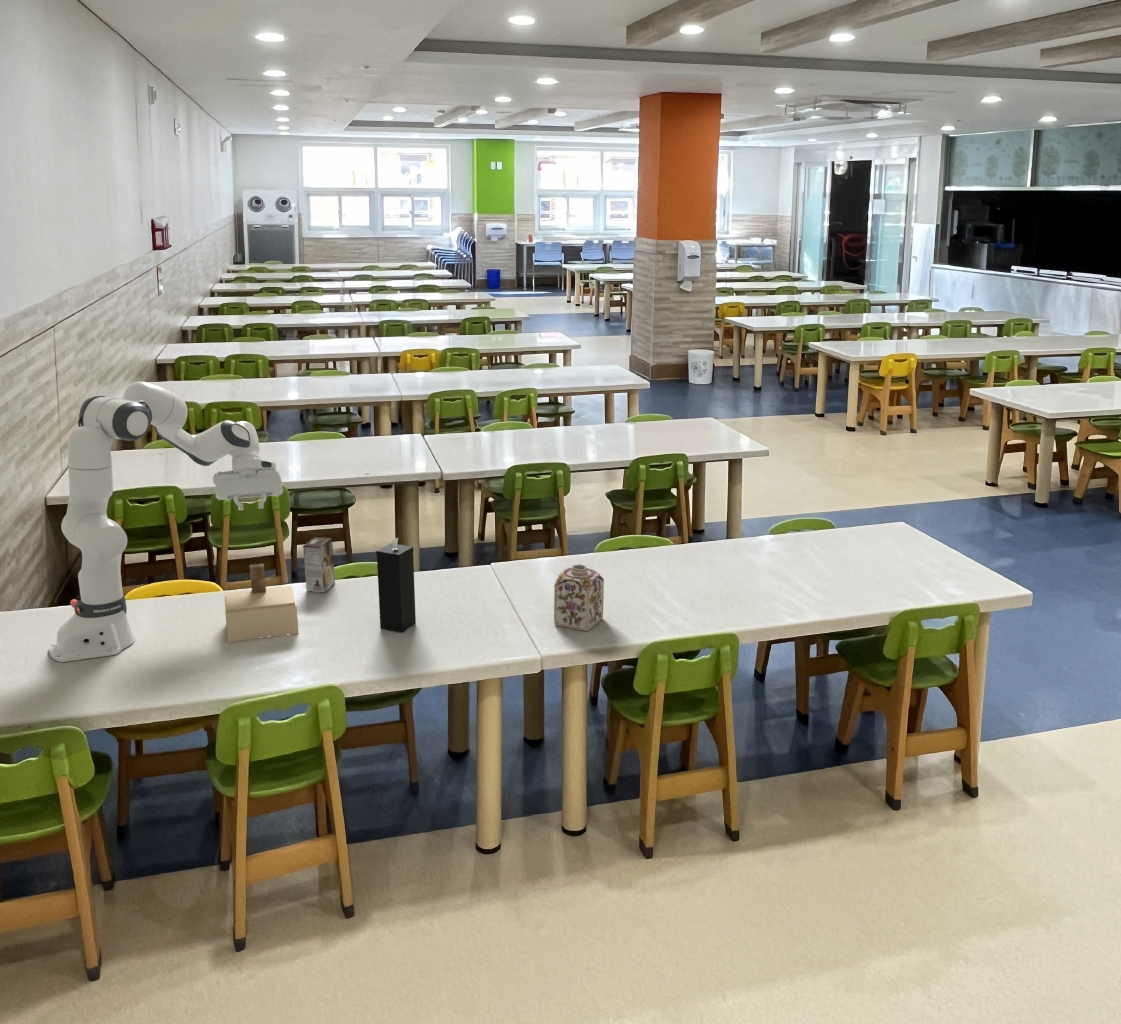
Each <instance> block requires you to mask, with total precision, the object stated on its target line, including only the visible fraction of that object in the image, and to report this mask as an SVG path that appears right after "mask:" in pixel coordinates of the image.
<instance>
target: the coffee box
mask: <svg viewBox="0 0 1121 1024" xmlns="http://www.w3.org/2000/svg"><path fill="white" fill-rule="evenodd" d="M302 546H303V559H304V562H303V563H304V572H305V573H304V574H305V584H306V585H305V587H306V592H307V591H312V592H311V593H319V592H324V593H326V592H325V591H326V590H327V589H328V588H329V587H330V588H331V587H332V586H334V585H335V583H336V581H335V579H336V577H335V566H334V565H335V564H334V563H335V562H334V550H333V549H334V547H333V538H332V537H317V536H315V537H313V538H311V539H310V540H308V541H307V542H305V544H304V545H302ZM331 585H332V586H331ZM330 588H329V589H330ZM329 589H328V590H329ZM328 590H327V591H328ZM313 591H314V592H313Z"/></svg>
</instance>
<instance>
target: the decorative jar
mask: <svg viewBox="0 0 1121 1024" xmlns="http://www.w3.org/2000/svg"><path fill="white" fill-rule="evenodd" d="M557 576H558V577H557V578H556V580H555V583H554V592H553V594H554V597H553V599H554V600H553V605H554V606H553V616H554V617H553V620H554V621H553V624H554V626H557V627H563V628H568V629H573V630H577V631H581V632H582V631H584V632H589V631H590V630H592V629H593V627H595V626H596V625H597V624H598V623H599V622H600V621H602V620H603V618H604V598H605V597H604V595H605V594H604V591H605V590H604V589H605V588H604V584H605V581H604V580H605V579H604V577H603V576H602V575H601V574H600V573H599V572H597V571H596V570H595V569H593V568H589V567H588V566H587V565H584V564H579V563H578V564H574V565H571V567H567V568H565V569H563V570H562V571H561V572H560V573H559V574H558V575H557Z"/></svg>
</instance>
